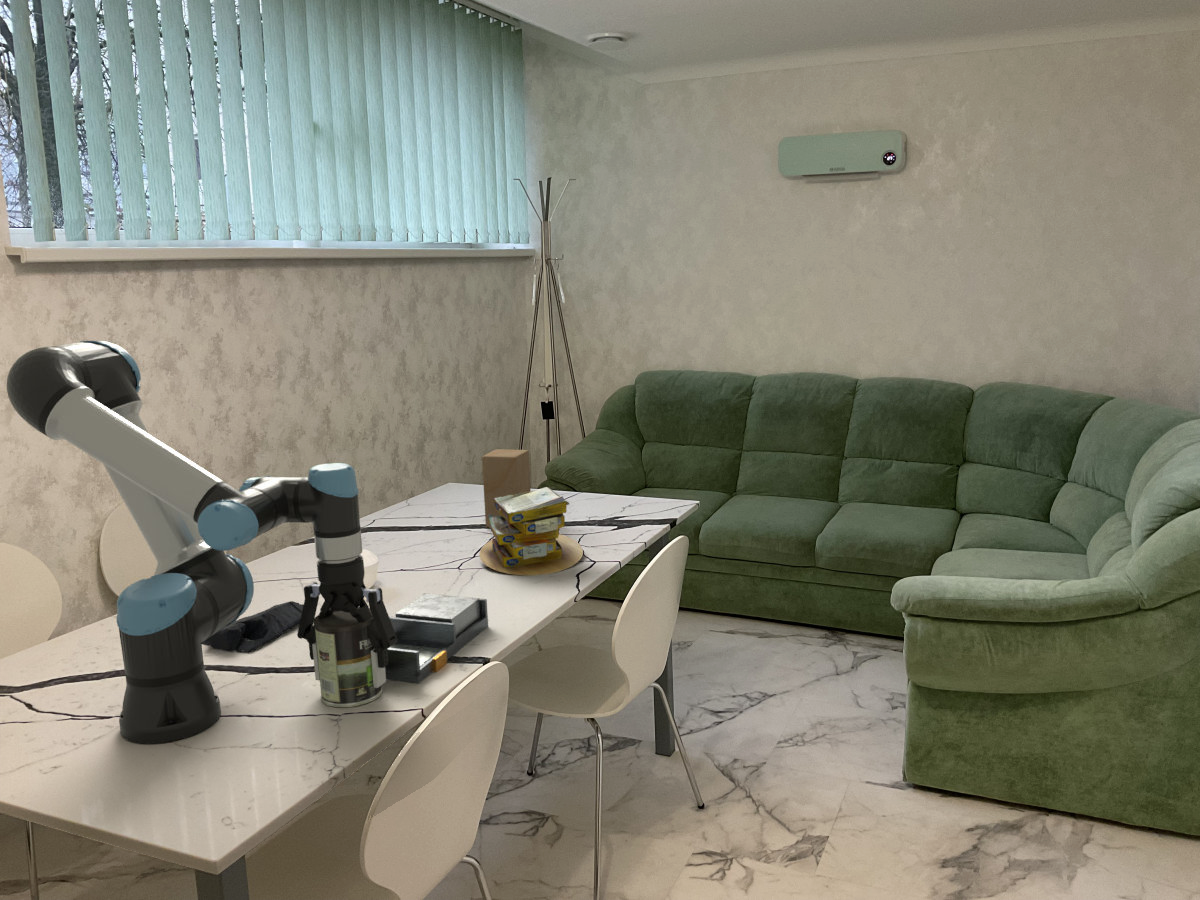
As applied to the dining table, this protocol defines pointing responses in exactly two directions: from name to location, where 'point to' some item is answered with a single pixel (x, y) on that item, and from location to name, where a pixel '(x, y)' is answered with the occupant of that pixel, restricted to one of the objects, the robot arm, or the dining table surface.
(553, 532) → the stacked yellow boxes
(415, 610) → the rack
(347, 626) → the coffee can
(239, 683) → the dining table surface
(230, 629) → the black pouch
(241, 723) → the dining table surface
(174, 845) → the dining table surface
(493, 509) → the wooden block
